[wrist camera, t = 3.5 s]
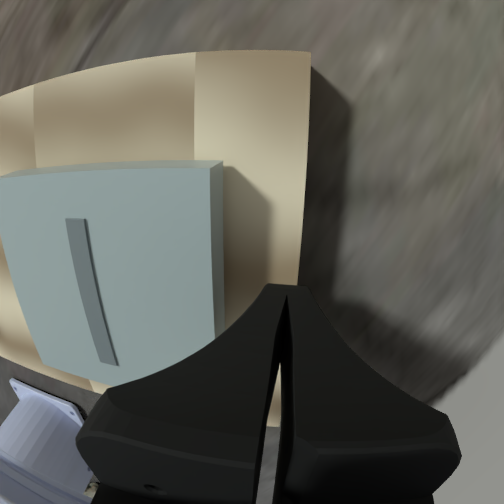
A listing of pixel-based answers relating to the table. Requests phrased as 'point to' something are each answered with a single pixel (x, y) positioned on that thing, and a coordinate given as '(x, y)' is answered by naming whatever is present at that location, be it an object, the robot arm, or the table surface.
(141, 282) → the lid
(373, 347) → the table surface
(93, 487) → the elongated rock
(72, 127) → the light wood flat board
